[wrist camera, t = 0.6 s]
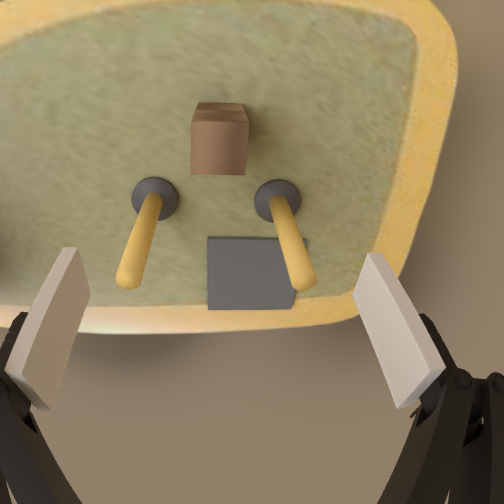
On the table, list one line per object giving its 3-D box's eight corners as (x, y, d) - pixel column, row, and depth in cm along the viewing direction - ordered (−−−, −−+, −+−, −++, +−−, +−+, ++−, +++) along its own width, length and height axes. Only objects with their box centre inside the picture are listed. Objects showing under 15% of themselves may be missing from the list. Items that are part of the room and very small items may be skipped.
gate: (135, 217, 41) (104, 302, 29) (131, 177, 38) (91, 252, 25) (295, 220, 44) (327, 303, 31) (302, 180, 41) (342, 255, 28)
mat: (208, 307, 53) (207, 309, 52) (207, 236, 44) (207, 239, 44) (290, 306, 54) (291, 309, 54) (305, 238, 46) (306, 241, 46)
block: (197, 142, 36) (190, 174, 28) (198, 102, 33) (191, 121, 25) (239, 143, 37) (245, 175, 29) (242, 103, 34) (249, 123, 26)
